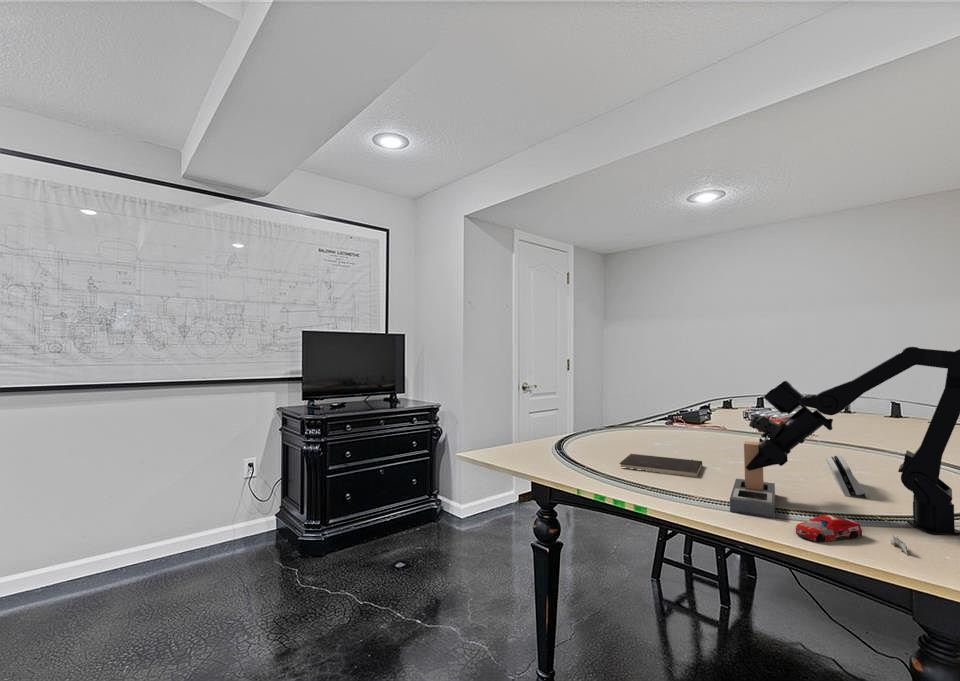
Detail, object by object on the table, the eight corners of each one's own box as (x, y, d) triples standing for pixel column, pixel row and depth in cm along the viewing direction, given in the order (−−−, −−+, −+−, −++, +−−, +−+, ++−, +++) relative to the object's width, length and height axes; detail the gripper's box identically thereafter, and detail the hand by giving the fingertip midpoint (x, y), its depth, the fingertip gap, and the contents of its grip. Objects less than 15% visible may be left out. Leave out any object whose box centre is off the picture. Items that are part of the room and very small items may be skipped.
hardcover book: (696, 479, 139) (696, 471, 140) (619, 470, 151) (619, 462, 151) (702, 467, 153) (702, 460, 153) (631, 459, 165) (630, 453, 165)
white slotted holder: (870, 499, 118) (852, 460, 120) (848, 502, 121) (830, 465, 122) (857, 482, 133) (841, 448, 135) (837, 486, 135) (822, 452, 137)
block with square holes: (774, 518, 106) (774, 504, 106) (730, 511, 111) (729, 497, 111) (775, 494, 123) (774, 482, 123) (736, 489, 128) (736, 477, 128)
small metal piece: (920, 559, 86) (920, 543, 86) (905, 558, 87) (904, 542, 87) (904, 545, 92) (903, 530, 92) (889, 544, 92) (889, 529, 92)
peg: (763, 496, 118) (761, 445, 118) (745, 494, 120) (743, 443, 120) (763, 492, 121) (762, 442, 122) (746, 490, 123) (744, 441, 124)
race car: (810, 545, 92) (810, 524, 93) (788, 534, 98) (788, 515, 98) (868, 540, 94) (868, 520, 94) (844, 530, 100) (843, 511, 100)
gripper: (770, 400, 127) (725, 437, 133) (769, 408, 111) (719, 449, 117) (806, 431, 123) (758, 468, 128) (810, 444, 107) (756, 485, 113)
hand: (747, 467), depth 122 cm, fingers closed on peg, 4 cm apart
